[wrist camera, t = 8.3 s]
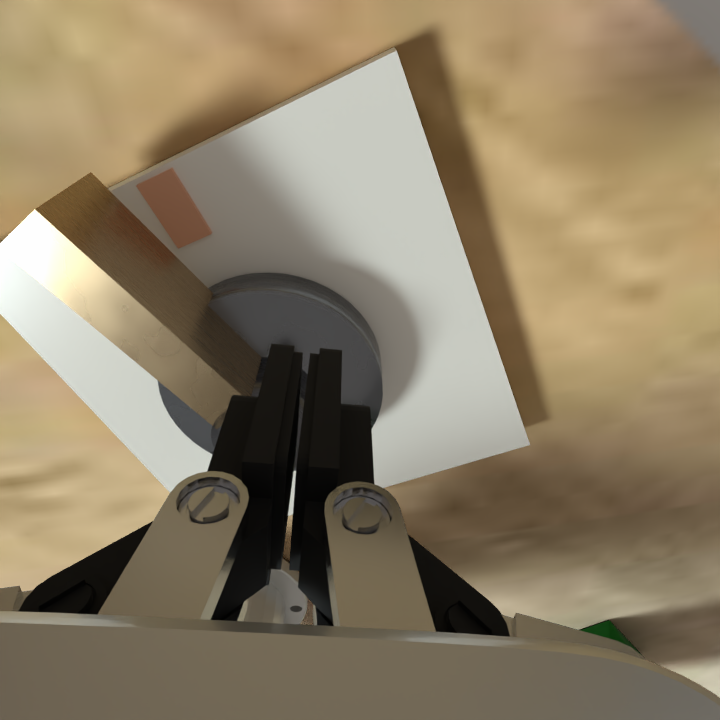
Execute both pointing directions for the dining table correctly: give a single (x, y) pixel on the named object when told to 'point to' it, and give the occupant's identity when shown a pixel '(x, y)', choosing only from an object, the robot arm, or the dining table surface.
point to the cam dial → (187, 310)
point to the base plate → (309, 273)
